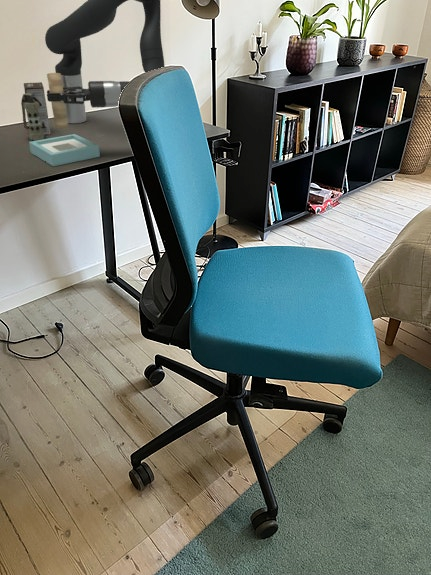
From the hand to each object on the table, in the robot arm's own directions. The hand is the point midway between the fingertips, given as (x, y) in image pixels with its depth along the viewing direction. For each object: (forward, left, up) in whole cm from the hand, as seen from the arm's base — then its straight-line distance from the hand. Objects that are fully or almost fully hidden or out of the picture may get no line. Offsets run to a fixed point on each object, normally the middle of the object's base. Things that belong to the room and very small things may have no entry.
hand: (47, 95), depth 141 cm
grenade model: (-21, +3, -18) cm, 28 cm away
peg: (+1, +3, -9) cm, 9 cm away
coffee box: (-28, +8, -18) cm, 34 cm away
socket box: (+1, +3, -18) cm, 18 cm away
